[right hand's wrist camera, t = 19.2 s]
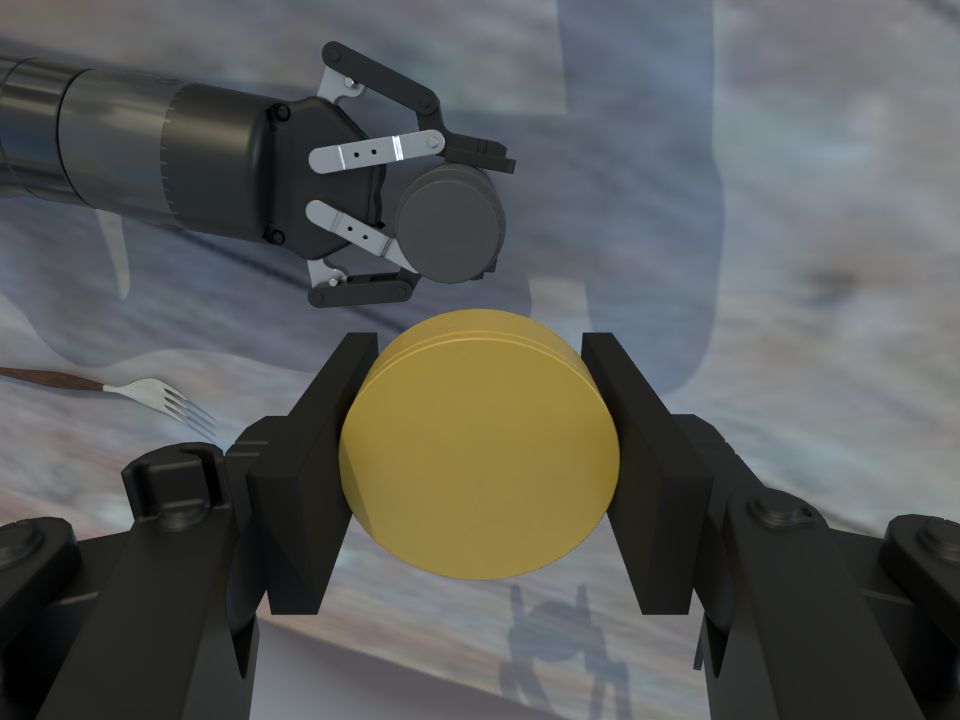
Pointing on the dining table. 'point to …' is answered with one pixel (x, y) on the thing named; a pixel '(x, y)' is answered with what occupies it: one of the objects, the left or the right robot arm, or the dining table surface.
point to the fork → (106, 388)
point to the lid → (479, 447)
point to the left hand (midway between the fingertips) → (502, 216)
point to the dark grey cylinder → (450, 223)
